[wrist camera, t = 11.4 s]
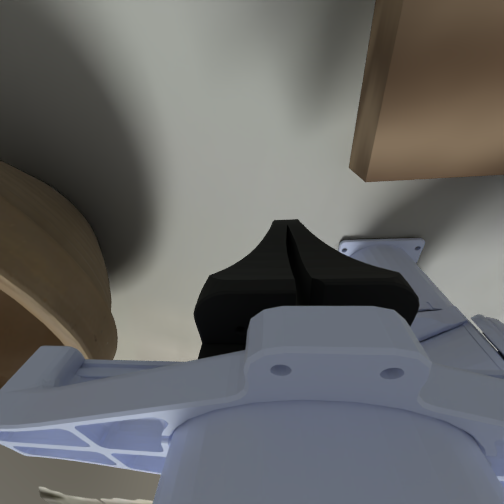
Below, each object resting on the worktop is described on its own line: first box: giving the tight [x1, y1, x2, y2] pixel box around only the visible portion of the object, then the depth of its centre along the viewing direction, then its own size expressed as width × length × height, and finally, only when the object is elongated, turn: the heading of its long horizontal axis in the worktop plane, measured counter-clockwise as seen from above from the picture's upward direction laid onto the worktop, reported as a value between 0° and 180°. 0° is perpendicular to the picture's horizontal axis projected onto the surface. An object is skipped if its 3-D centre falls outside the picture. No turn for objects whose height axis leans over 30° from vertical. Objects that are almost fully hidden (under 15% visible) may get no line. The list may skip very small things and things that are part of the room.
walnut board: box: [349, 0, 504, 182], centre depth 13 cm, size 12×12×4 cm
